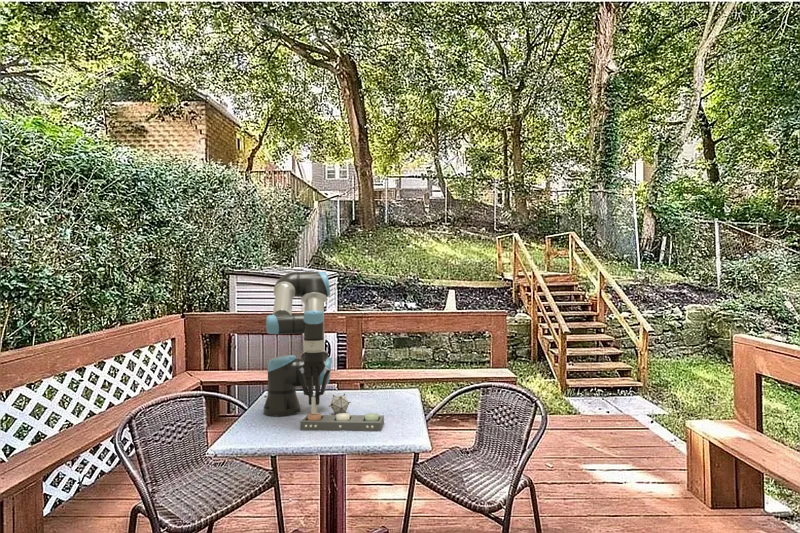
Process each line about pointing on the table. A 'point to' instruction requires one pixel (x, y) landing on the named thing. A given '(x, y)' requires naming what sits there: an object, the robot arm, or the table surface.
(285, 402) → the robot arm
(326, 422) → the console
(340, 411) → the game die
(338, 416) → the button one
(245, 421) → the table surface
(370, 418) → the button two
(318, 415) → the button three
